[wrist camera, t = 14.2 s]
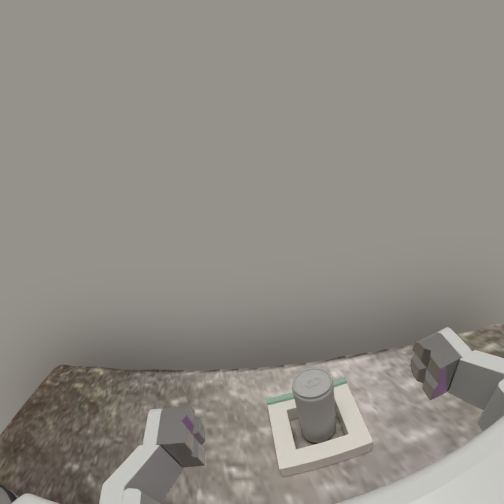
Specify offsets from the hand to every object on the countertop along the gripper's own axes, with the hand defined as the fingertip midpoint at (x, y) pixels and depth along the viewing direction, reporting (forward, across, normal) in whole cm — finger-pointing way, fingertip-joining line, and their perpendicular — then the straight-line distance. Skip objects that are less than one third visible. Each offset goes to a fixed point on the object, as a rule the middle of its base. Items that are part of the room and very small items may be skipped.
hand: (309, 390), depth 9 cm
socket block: (+15, -2, +30) cm, 34 cm away
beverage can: (+15, -2, +30) cm, 34 cm away
